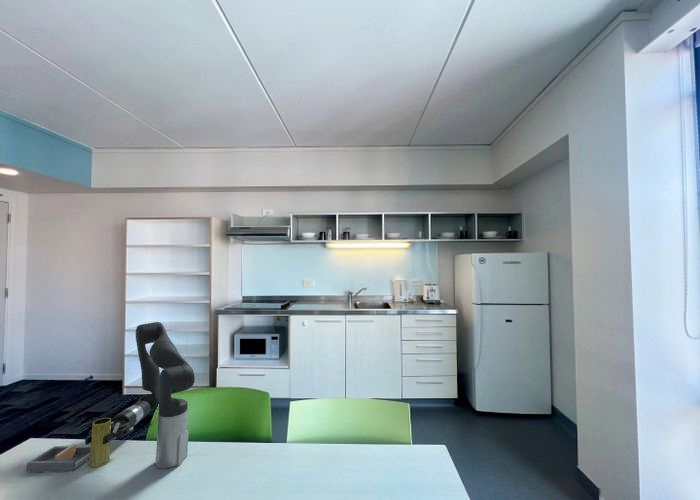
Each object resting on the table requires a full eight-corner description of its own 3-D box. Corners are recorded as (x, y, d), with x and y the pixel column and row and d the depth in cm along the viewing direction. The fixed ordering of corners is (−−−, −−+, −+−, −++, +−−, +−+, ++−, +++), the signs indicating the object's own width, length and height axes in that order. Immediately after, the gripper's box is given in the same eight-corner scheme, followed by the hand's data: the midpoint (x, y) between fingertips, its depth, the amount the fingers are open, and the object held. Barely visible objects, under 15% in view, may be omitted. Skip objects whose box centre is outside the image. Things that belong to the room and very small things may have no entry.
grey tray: (95, 454, 113) (96, 445, 113) (72, 471, 103) (73, 462, 103) (53, 454, 112) (54, 446, 113) (26, 472, 102) (27, 463, 103)
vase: (114, 457, 111) (117, 417, 112) (98, 468, 105) (102, 425, 106) (99, 456, 112) (102, 416, 113) (82, 467, 106) (86, 424, 107)
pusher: (75, 455, 112) (76, 443, 112) (57, 467, 104) (58, 455, 105) (72, 455, 111) (73, 443, 112) (54, 467, 104) (55, 455, 105)
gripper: (110, 409, 123) (74, 430, 106) (146, 409, 124) (116, 430, 107) (108, 428, 123) (72, 453, 106) (145, 428, 123) (115, 452, 107)
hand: (95, 441), depth 107 cm, fingers closed on vase, 5 cm apart
